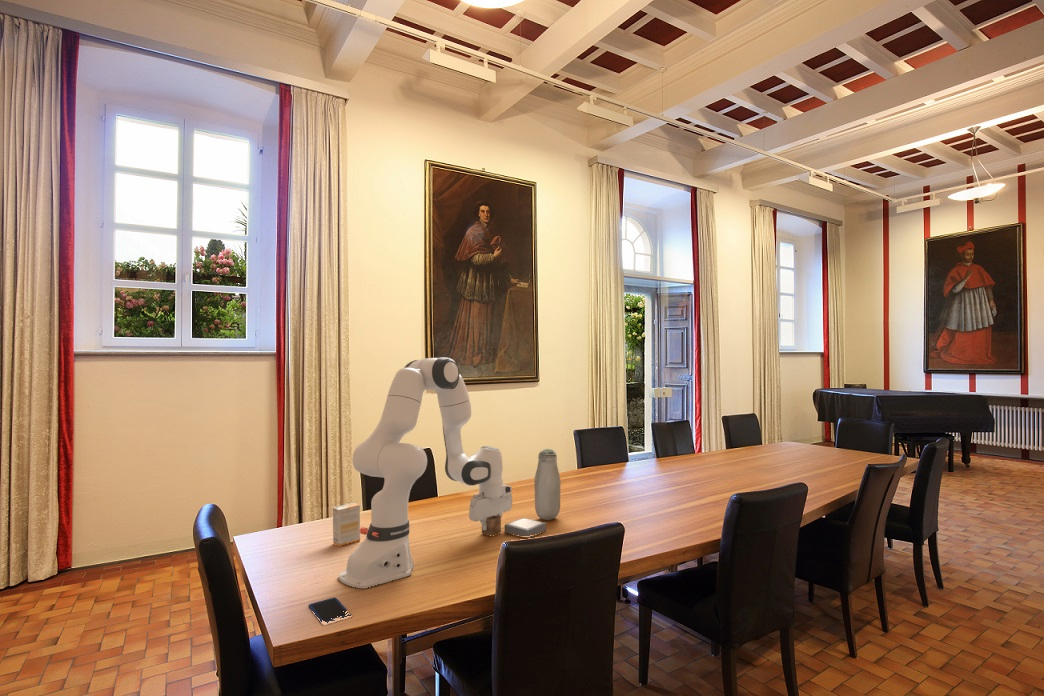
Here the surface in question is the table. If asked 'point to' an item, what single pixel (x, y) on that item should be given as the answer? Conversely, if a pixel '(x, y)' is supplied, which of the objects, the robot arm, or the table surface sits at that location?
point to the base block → (525, 527)
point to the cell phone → (328, 609)
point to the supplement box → (346, 524)
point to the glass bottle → (547, 485)
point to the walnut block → (493, 525)
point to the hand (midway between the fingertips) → (491, 527)
